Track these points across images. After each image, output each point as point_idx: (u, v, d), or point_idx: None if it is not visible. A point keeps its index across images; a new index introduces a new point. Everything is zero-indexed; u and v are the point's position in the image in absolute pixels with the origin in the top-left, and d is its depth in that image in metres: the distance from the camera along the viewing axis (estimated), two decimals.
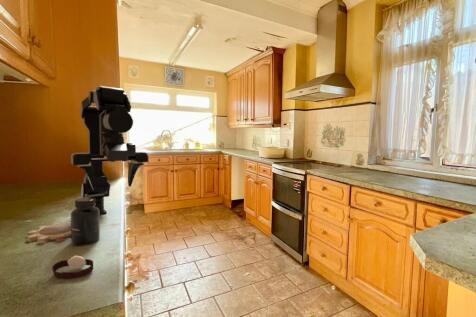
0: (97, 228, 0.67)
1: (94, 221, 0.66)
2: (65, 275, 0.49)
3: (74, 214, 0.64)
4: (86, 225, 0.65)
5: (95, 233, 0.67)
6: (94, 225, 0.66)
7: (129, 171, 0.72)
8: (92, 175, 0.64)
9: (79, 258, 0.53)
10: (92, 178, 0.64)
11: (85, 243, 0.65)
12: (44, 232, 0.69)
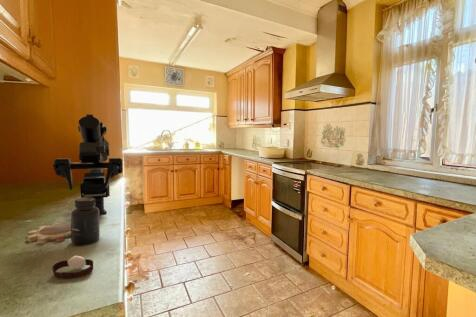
0: (97, 228, 0.67)
1: (94, 221, 0.66)
2: (65, 275, 0.50)
3: (74, 214, 0.64)
4: (86, 225, 0.65)
5: (95, 233, 0.67)
6: (94, 225, 0.66)
7: None
8: (69, 176, 0.73)
9: (79, 258, 0.53)
10: (69, 177, 0.73)
11: (85, 243, 0.65)
12: (44, 232, 0.69)
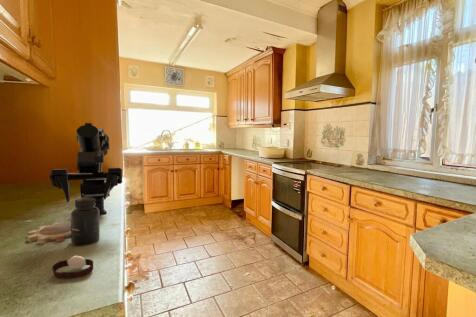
0: (97, 228, 0.67)
1: (94, 221, 0.66)
2: (65, 275, 0.50)
3: (74, 214, 0.64)
4: (86, 225, 0.65)
5: (95, 233, 0.67)
6: (94, 225, 0.66)
7: None
8: (66, 187, 0.70)
9: (79, 258, 0.53)
10: (66, 189, 0.69)
11: (85, 243, 0.65)
12: (44, 232, 0.69)
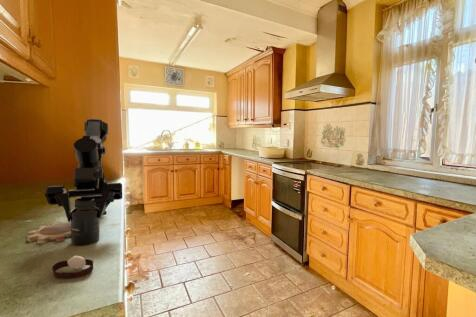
0: (97, 228, 0.67)
1: (94, 221, 0.66)
2: (65, 275, 0.50)
3: (74, 214, 0.64)
4: (86, 225, 0.65)
5: (95, 233, 0.67)
6: (94, 225, 0.66)
7: None
8: (67, 205, 0.66)
9: (79, 258, 0.53)
10: (67, 207, 0.65)
11: (85, 243, 0.65)
12: (44, 232, 0.69)
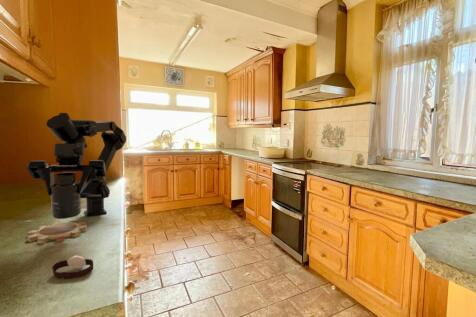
0: (77, 203, 0.69)
1: (73, 196, 0.67)
2: (65, 275, 0.50)
3: (53, 188, 0.66)
4: (65, 199, 0.66)
5: (75, 207, 0.68)
6: (73, 200, 0.68)
7: None
8: (49, 179, 0.68)
9: (79, 258, 0.53)
10: (48, 181, 0.67)
11: (64, 217, 0.67)
12: (44, 232, 0.69)
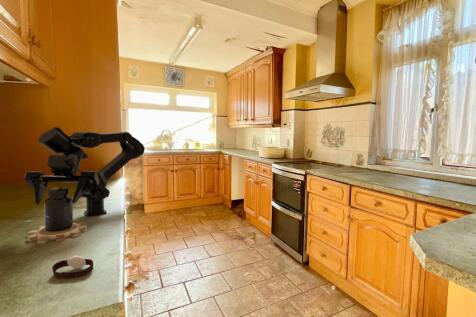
0: (68, 217, 0.72)
1: (64, 210, 0.71)
2: (65, 275, 0.50)
3: (46, 201, 0.69)
4: (56, 212, 0.69)
5: (65, 221, 0.71)
6: (64, 213, 0.71)
7: None
8: (38, 189, 0.71)
9: (79, 258, 0.53)
10: (37, 191, 0.70)
11: (55, 230, 0.70)
12: (44, 232, 0.69)
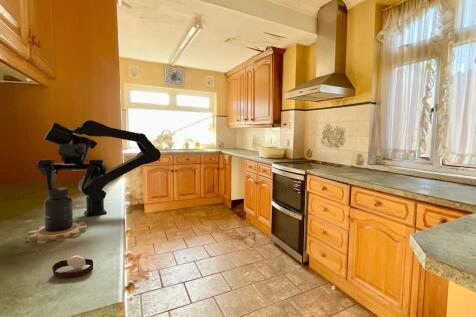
0: (68, 217, 0.72)
1: (64, 210, 0.70)
2: (65, 275, 0.50)
3: (45, 202, 0.69)
4: (56, 213, 0.69)
5: (65, 221, 0.71)
6: (64, 213, 0.71)
7: None
8: (50, 176, 0.76)
9: (79, 258, 0.53)
10: (49, 178, 0.75)
11: (55, 230, 0.70)
12: (44, 232, 0.69)
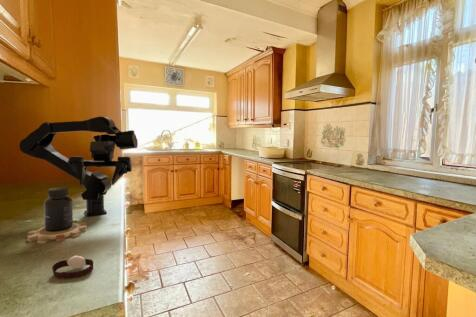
0: (68, 217, 0.72)
1: (64, 210, 0.70)
2: (65, 275, 0.50)
3: (45, 202, 0.69)
4: (56, 213, 0.69)
5: (65, 221, 0.71)
6: (64, 213, 0.71)
7: None
8: (81, 172, 0.79)
9: (79, 258, 0.53)
10: (80, 174, 0.79)
11: (55, 230, 0.70)
12: (44, 232, 0.69)
